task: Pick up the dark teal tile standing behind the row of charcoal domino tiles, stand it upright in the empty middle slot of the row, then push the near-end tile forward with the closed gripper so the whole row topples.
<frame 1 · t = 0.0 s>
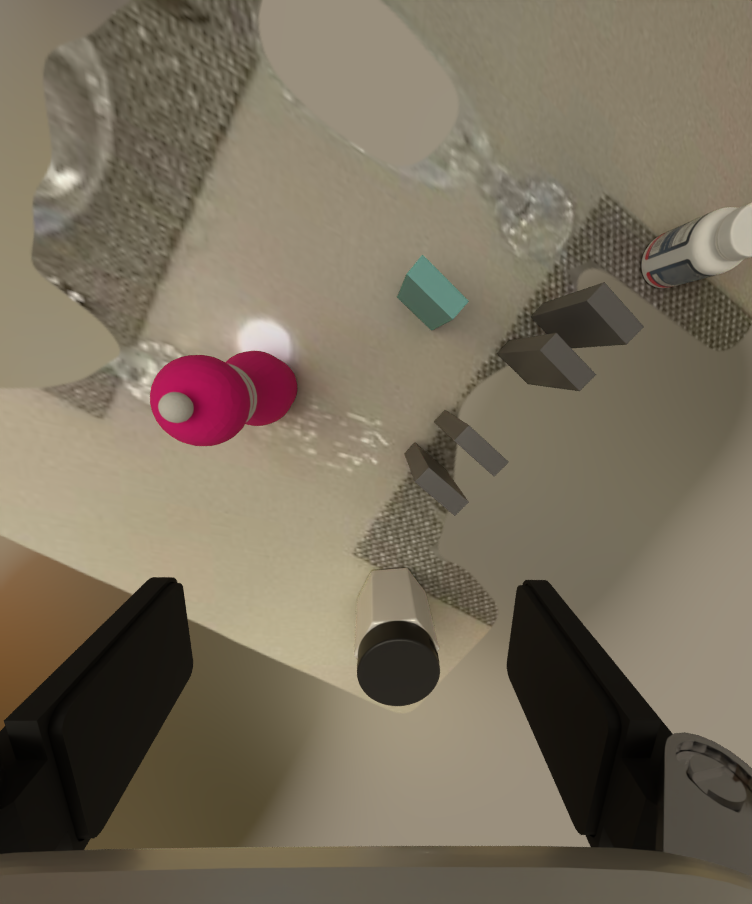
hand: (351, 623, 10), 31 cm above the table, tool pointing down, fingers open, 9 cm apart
pill bottle: (663, 261, 36), on the table
domino 5: (425, 461, 41), on the table
domino 4: (454, 430, 40), on the table
domino 2: (518, 362, 39), on the table
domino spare: (420, 307, 37), on the table
jar: (391, 593, 46), on the table
domino 1: (552, 326, 38), on the table
pepper mill: (269, 386, 39), on the table
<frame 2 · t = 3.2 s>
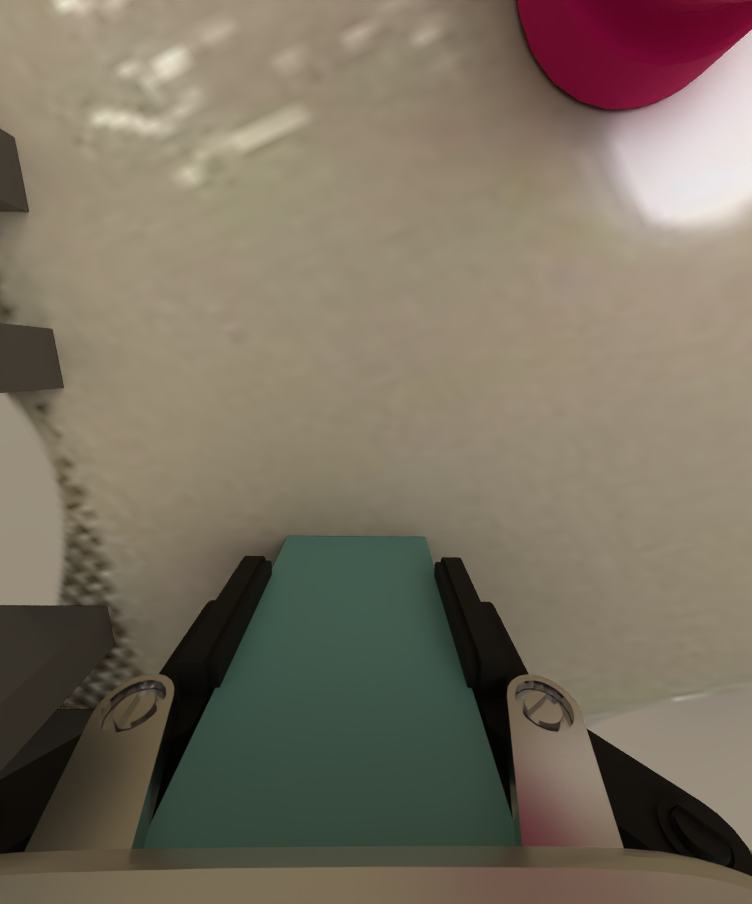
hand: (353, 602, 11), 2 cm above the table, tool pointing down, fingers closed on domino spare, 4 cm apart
domino 2: (45, 625, 14), on the table
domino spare: (356, 558, 13), on the table, touching gripper
domino 1: (70, 726, 15), on the table
when the fingers open (3 cm above the table, at t = 9.2 s): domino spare stays where it is, on the table.
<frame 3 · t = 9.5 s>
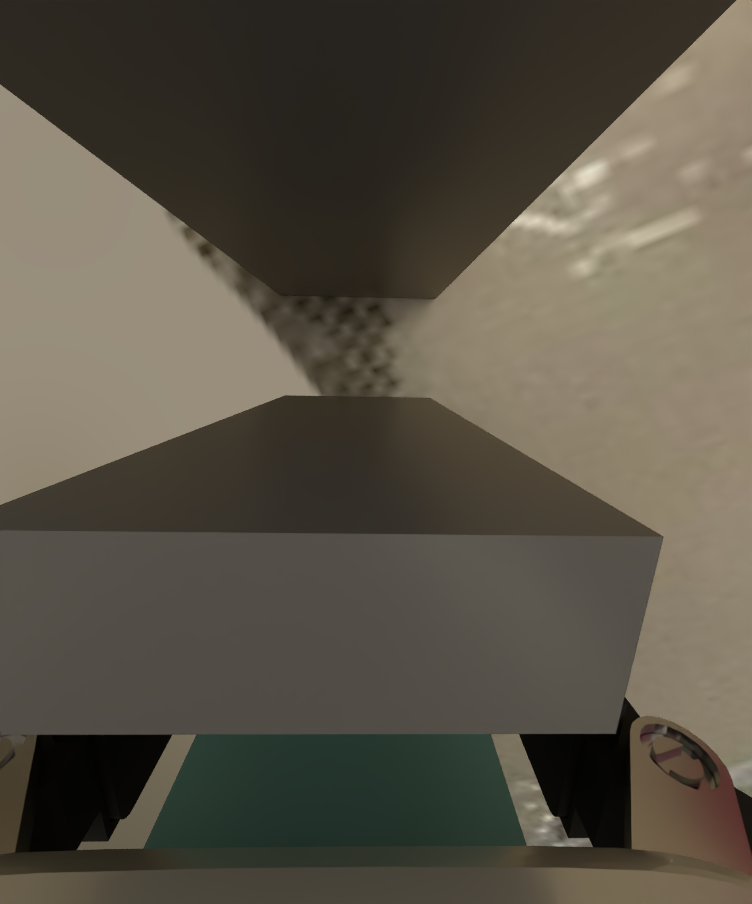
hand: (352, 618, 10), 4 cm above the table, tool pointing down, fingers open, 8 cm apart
domino 5: (358, 266, 11), on the table
domino 4: (357, 422, 12), on the table
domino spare: (358, 549, 14), on the table
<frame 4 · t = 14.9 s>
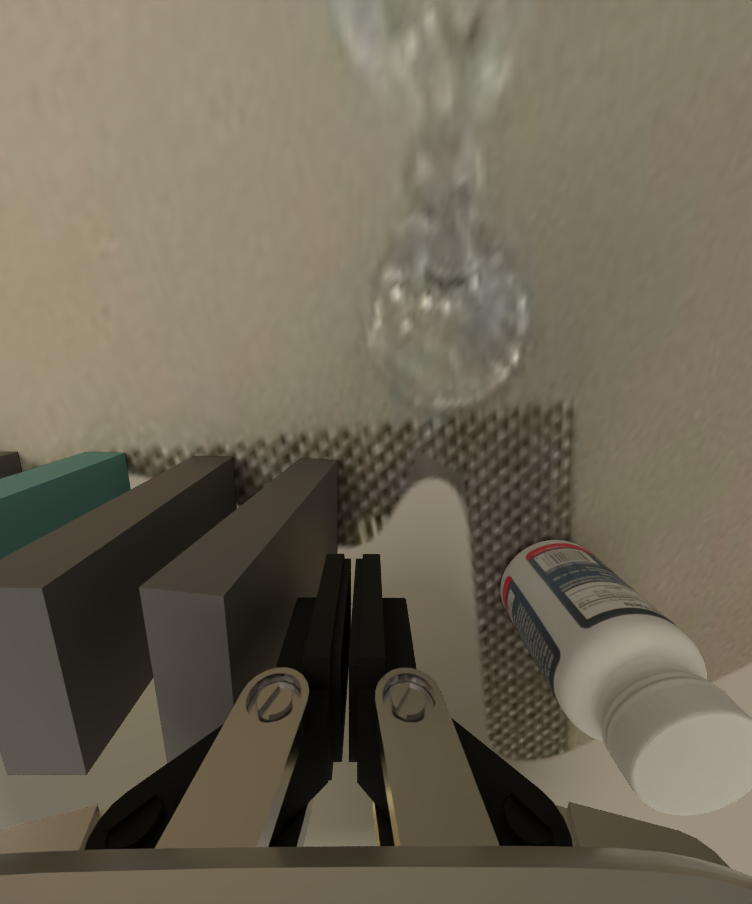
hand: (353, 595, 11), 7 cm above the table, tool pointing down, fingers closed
pill bottle: (545, 579, 19), on the table
domino 4: (10, 501, 17), on the table
domino 2: (217, 505, 17), on the table
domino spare: (113, 501, 17), on the table
domino 1: (319, 508, 17), on the table, tilted 8°
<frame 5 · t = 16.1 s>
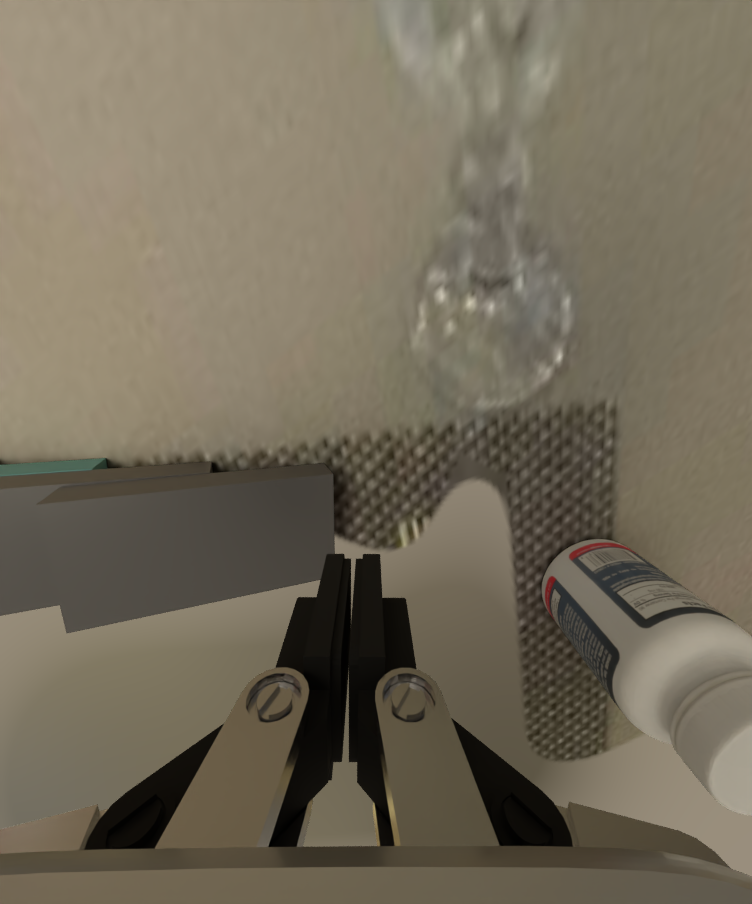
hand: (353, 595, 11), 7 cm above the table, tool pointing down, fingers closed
pill bottle: (586, 578, 19), on the table
domino 2: (215, 518, 16), point 1 cm above the table, tilted 69°, touching domino 1, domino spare
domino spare: (108, 515, 16), point 1 cm above the table, tilted 69°, touching domino 2, domino 4
domino 1: (329, 519, 16), point 1 cm above the table, tilted 69°, touching domino 2
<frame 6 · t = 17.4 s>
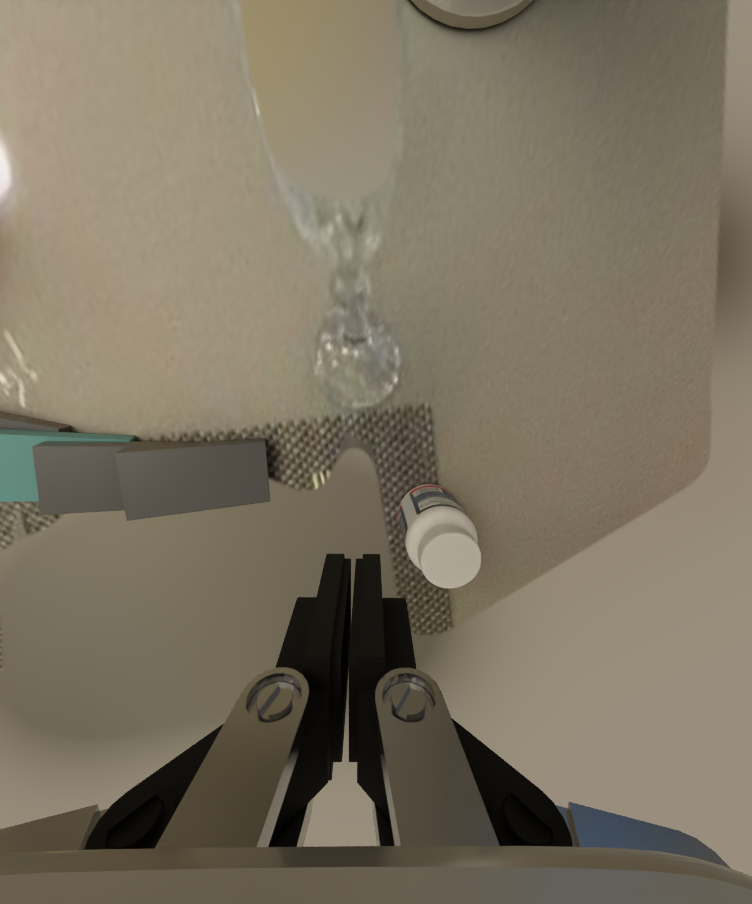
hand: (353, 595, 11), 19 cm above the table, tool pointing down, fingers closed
pill bottle: (427, 510, 31), on the table
domino 4: (60, 457, 28), point 1 cm above the table, tilted 75°, touching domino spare
domino 2: (197, 473, 29), point 1 cm above the table, tilted 70°, touching domino 1, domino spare
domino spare: (132, 467, 29), point 1 cm above the table, tilted 70°, touching domino 2, domino 4
domino 1: (266, 469, 29), point 1 cm above the table, tilted 71°, touching domino 2
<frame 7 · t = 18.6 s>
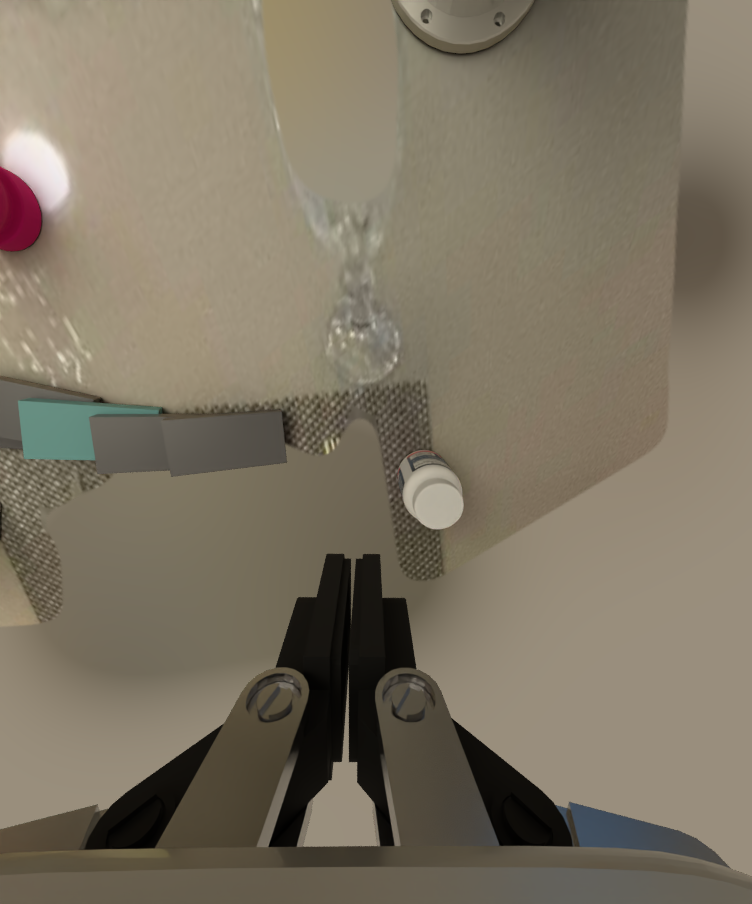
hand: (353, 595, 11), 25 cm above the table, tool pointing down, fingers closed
pill bottle: (422, 472, 37), on the table
domino 4: (93, 423, 33), point 1 cm above the table, tilted 71°, touching domino 5, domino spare
domino 2: (220, 440, 34), point 1 cm above the table, tilted 71°, touching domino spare
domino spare: (160, 434, 34), point 1 cm above the table, tilted 70°, touching domino 2, domino 4
domino 1: (283, 435, 34), point 1 cm above the table, tilted 72°
pepper mill: (7, 212, 30), on the table
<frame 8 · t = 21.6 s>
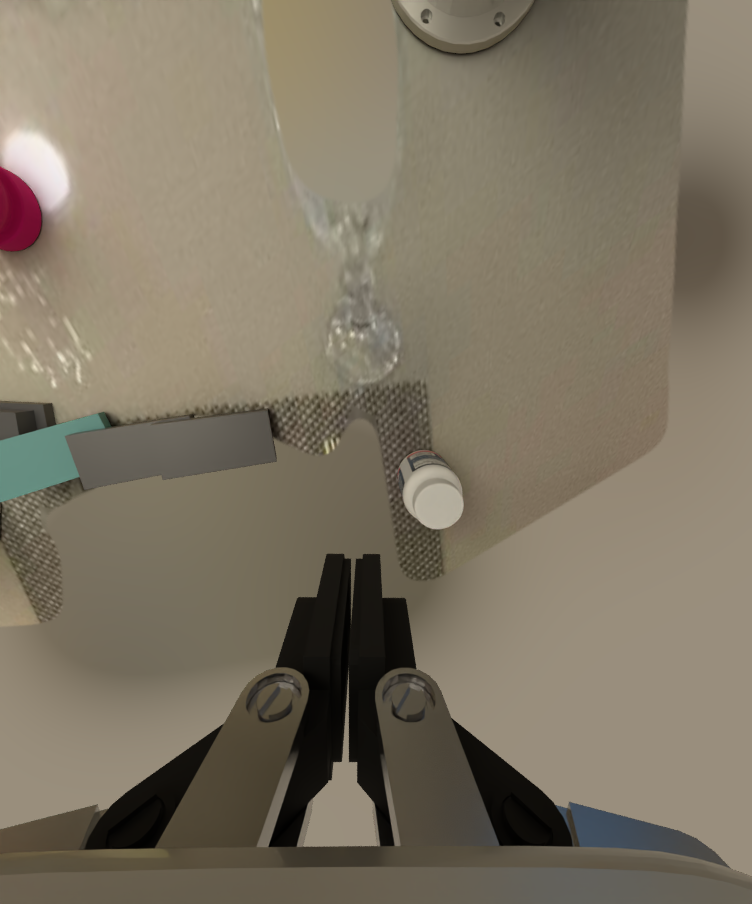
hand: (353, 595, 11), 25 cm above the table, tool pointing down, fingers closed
pill bottle: (422, 472, 37), on the table
domino 5: (55, 428, 35), on the table, tilted 90°
domino 4: (29, 438, 33), point 2 cm above the table, tilted 90°
domino 2: (198, 440, 34), point 1 cm above the table, tilted 74°, touching domino 1, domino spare
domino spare: (113, 437, 34), point 1 cm above the table, tilted 69°, touching domino 2
domino 1: (272, 434, 34), point 1 cm above the table, tilted 75°, touching domino 2
pepper mill: (7, 212, 30), on the table
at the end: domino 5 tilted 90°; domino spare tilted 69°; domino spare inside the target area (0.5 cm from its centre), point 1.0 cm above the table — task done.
